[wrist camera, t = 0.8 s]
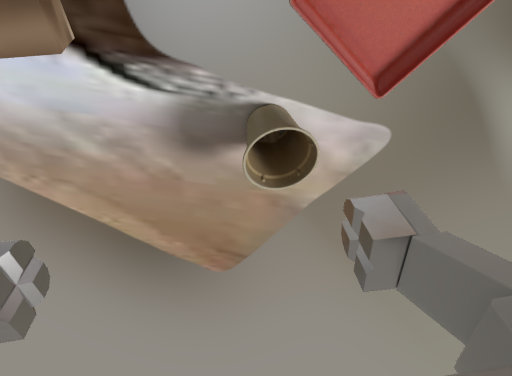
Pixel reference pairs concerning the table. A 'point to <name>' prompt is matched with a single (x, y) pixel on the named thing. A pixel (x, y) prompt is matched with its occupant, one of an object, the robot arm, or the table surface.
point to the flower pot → (278, 150)
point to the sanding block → (33, 28)
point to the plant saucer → (386, 33)
